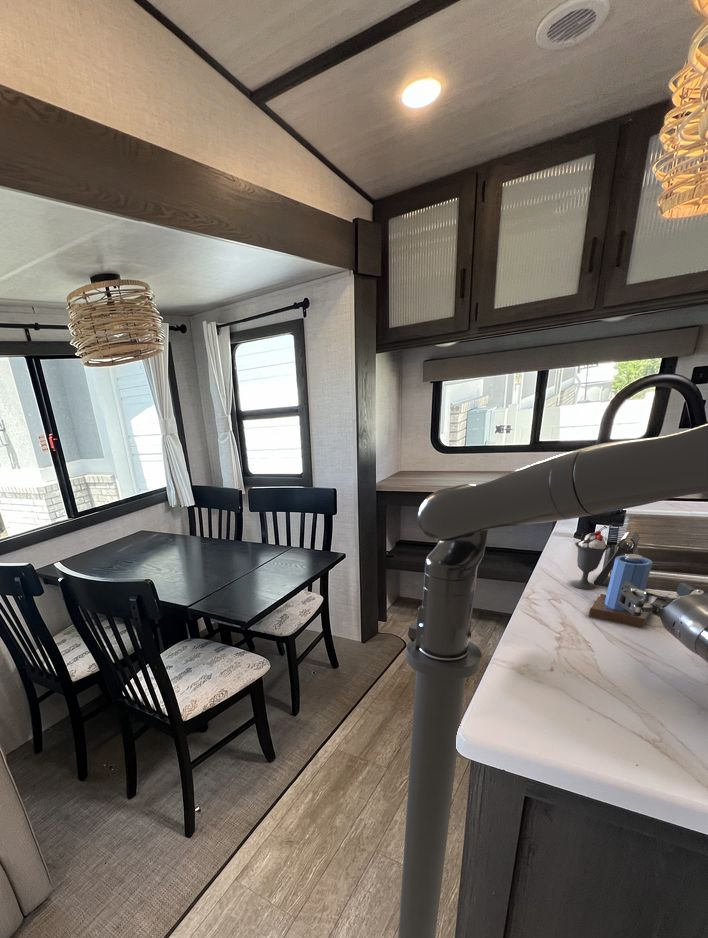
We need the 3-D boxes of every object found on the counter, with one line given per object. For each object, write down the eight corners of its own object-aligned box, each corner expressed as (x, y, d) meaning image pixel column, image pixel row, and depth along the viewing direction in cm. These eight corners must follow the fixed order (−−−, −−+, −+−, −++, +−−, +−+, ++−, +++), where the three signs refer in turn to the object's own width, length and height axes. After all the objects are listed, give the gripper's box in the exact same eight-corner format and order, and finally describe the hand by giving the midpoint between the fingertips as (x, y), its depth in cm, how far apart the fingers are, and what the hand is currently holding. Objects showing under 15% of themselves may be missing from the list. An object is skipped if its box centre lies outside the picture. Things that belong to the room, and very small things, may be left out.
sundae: (600, 592, 107) (615, 529, 101) (566, 588, 111) (578, 526, 105) (600, 582, 112) (614, 521, 106) (567, 578, 116) (579, 519, 110)
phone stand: (644, 583, 110) (657, 534, 105) (639, 592, 106) (653, 541, 101) (598, 576, 116) (609, 529, 111) (592, 584, 112) (603, 535, 107)
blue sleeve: (601, 607, 97) (612, 561, 93) (607, 597, 100) (618, 553, 96) (636, 614, 93) (649, 566, 89) (641, 604, 96) (654, 558, 92)
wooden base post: (588, 616, 97) (601, 558, 92) (597, 601, 103) (611, 546, 98) (642, 628, 92) (659, 566, 86) (649, 611, 97) (666, 553, 92)
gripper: (772, 606, 68) (704, 568, 83) (657, 603, 72) (612, 567, 86) (754, 651, 71) (692, 606, 86) (645, 646, 75) (603, 604, 89)
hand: (652, 587), depth 86 cm, fingers open, 8 cm apart
